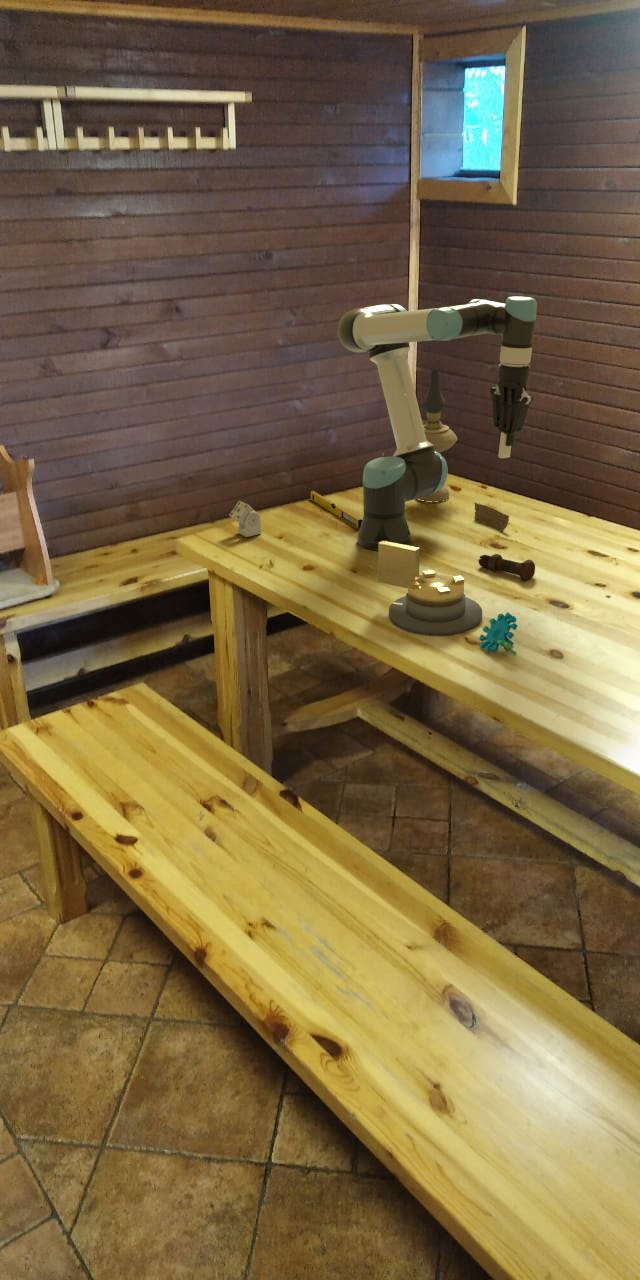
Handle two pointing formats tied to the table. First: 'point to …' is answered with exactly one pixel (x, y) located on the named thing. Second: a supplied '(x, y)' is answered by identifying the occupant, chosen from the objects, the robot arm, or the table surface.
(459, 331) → the robot arm
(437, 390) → the oil lamp
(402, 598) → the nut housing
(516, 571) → the bolt
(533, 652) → the table surface
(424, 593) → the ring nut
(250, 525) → the mechanical component
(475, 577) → the table surface
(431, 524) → the table surface
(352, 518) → the spirit level
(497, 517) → the wood plank
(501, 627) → the teal spiky piece
